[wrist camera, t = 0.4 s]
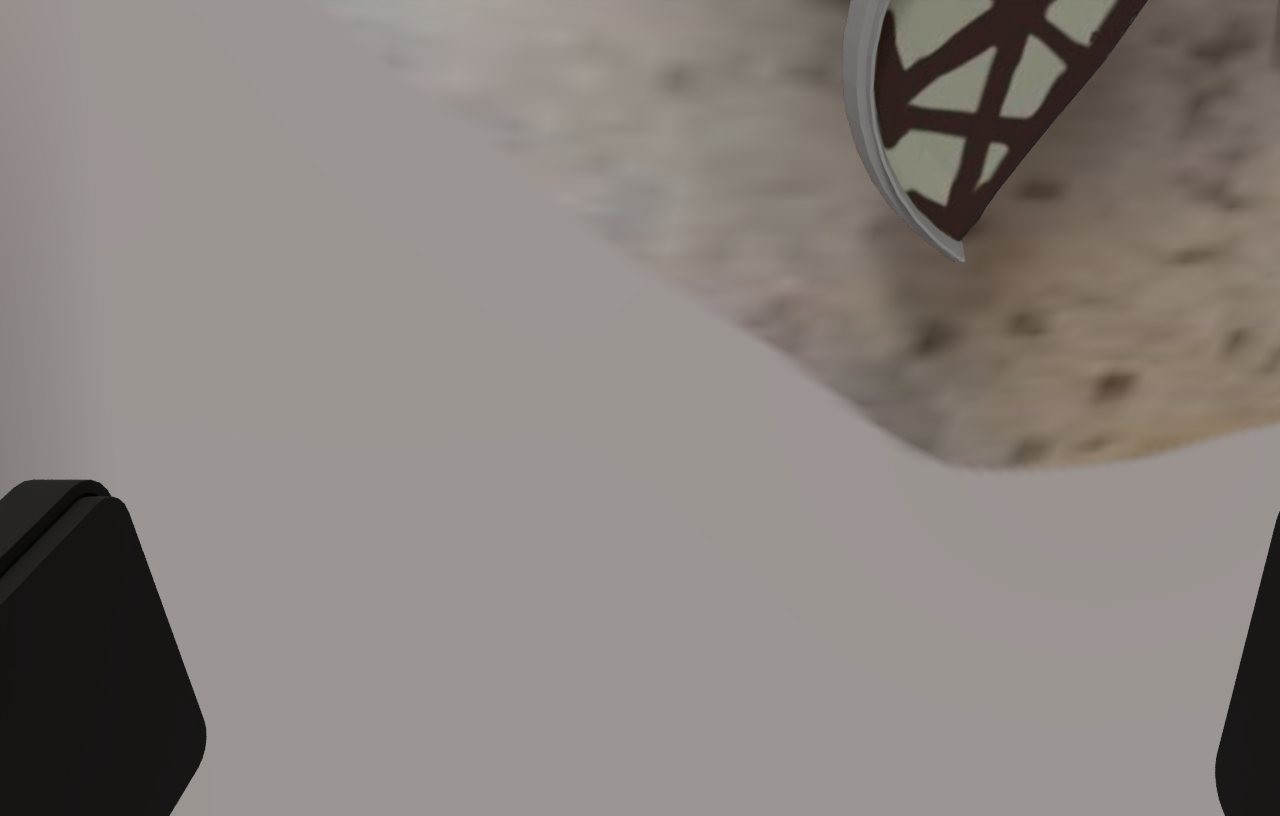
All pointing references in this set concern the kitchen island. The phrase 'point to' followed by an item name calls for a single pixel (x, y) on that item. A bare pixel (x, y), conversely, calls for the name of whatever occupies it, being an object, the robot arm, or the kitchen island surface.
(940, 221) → the food container
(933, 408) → the kitchen island surface
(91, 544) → the robot arm
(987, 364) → the kitchen island surface
